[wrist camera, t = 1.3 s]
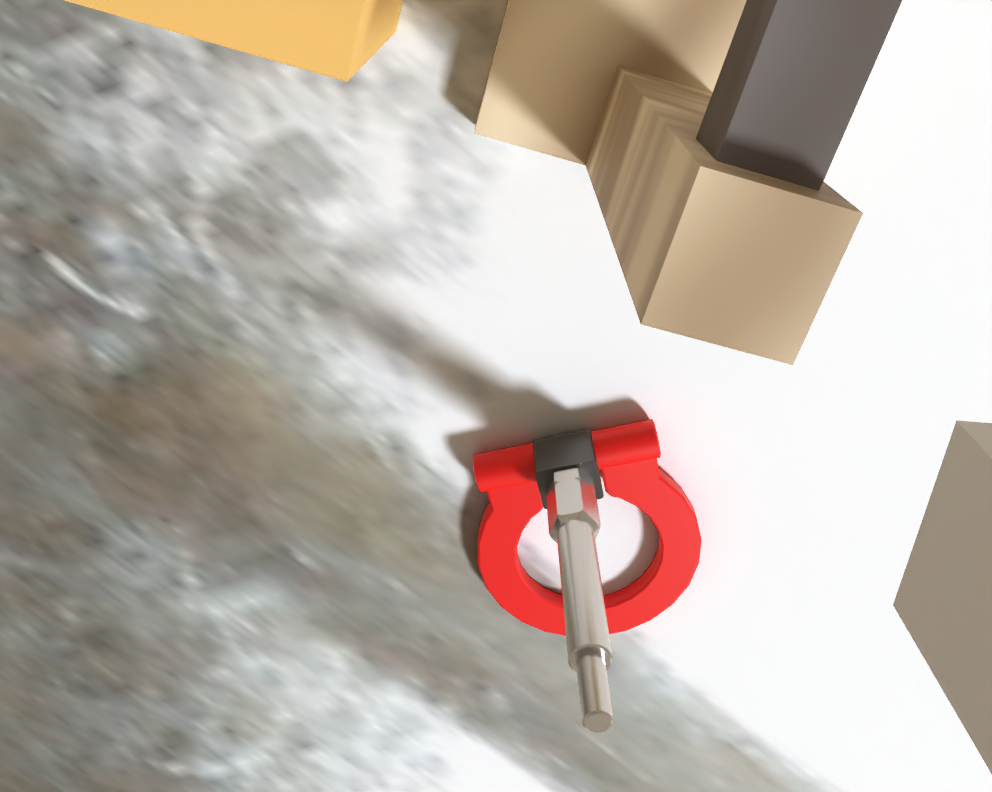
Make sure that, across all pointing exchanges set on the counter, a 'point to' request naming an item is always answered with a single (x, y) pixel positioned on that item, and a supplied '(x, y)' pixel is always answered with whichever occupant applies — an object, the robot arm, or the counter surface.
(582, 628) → the tow hook
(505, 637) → the counter surface
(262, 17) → the yellow u-shaped bracket
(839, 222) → the wooden crossbar stand
